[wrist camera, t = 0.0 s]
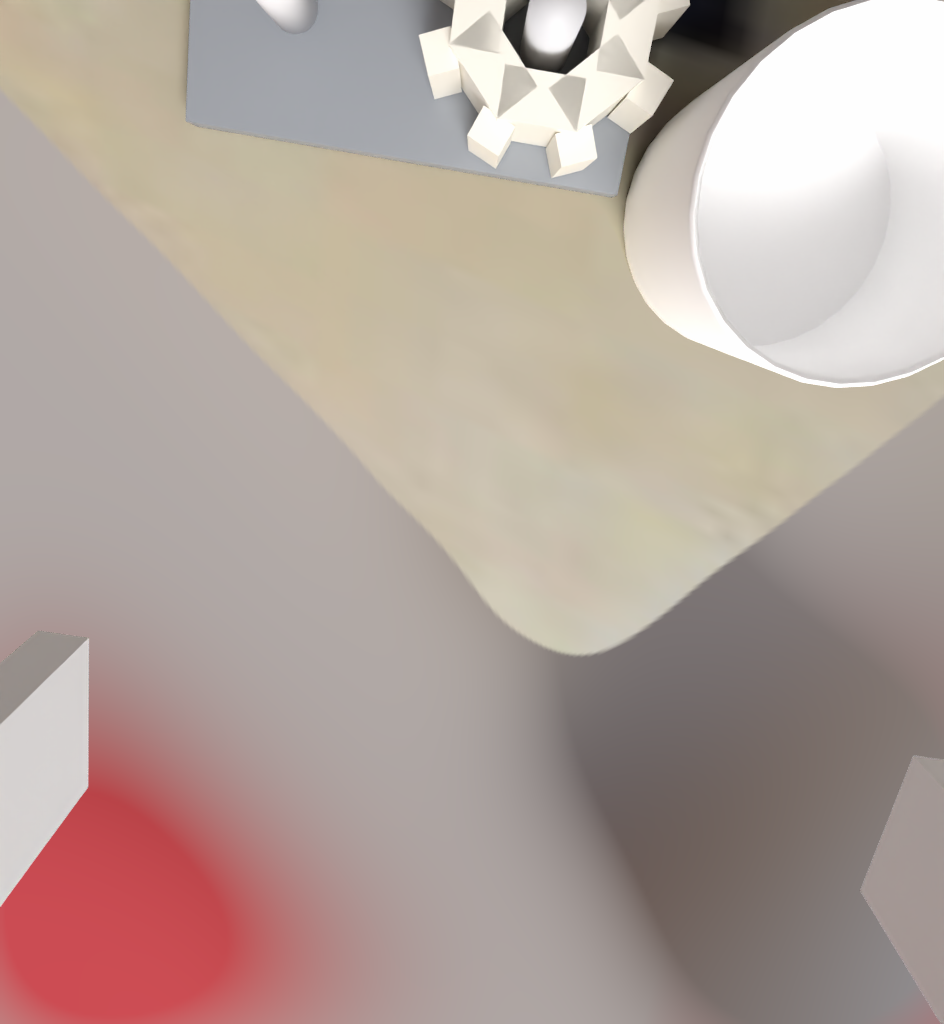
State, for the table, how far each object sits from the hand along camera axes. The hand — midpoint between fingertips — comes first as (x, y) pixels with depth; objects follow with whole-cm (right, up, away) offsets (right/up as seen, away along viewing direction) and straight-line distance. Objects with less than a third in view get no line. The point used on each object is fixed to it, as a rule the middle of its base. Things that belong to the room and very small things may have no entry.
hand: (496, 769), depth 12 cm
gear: (+3, +23, +20) cm, 31 cm away
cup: (+12, +18, +24) cm, 32 cm away
